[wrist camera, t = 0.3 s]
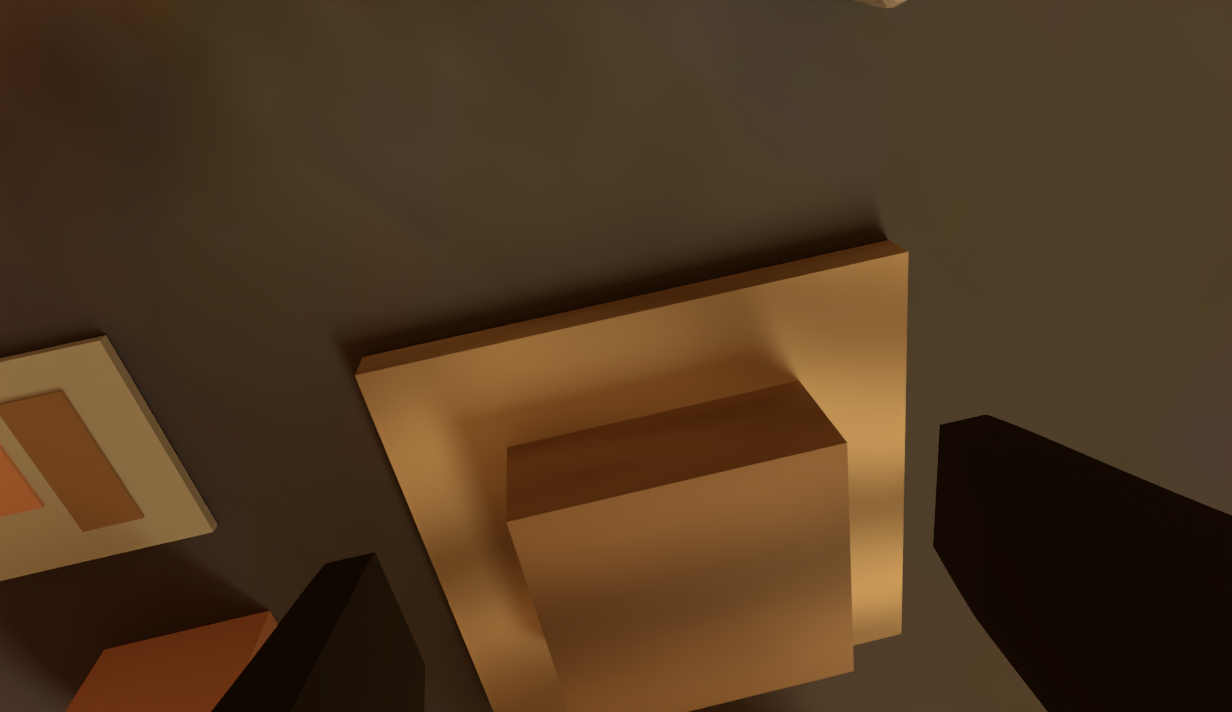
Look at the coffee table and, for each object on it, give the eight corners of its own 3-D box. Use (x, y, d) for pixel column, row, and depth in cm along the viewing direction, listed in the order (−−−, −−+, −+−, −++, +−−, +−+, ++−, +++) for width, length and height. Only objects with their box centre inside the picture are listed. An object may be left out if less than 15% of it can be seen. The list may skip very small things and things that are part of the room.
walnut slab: (812, 591, 22) (853, 671, 20) (570, 650, 22) (578, 738, 19) (799, 380, 19) (847, 442, 16) (507, 447, 18) (506, 521, 16)
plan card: (217, 524, 19) (212, 534, 19) (-36, 582, 19) (-46, 593, 19) (106, 335, 17) (96, 342, 16) (-193, 400, 16) (-208, 409, 16)
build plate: (887, 610, 25) (901, 633, 24) (502, 704, 24) (501, 731, 23) (889, 239, 18) (907, 252, 17) (362, 357, 18) (355, 375, 17)
